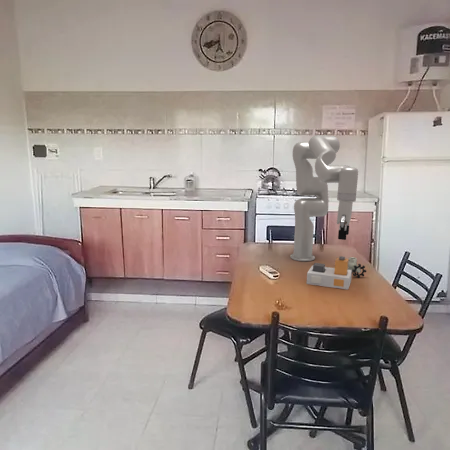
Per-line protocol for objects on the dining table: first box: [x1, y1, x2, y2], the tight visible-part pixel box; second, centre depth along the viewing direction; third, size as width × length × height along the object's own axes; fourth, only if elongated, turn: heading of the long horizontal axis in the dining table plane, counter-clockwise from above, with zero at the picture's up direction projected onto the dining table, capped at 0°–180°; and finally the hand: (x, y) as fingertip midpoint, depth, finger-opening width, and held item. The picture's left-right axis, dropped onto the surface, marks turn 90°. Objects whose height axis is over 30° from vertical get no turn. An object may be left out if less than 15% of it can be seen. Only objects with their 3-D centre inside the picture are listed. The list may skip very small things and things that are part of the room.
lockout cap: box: [334, 255, 349, 275], centre depth 187 cm, size 5×5×7 cm
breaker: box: [313, 262, 326, 273], centre depth 191 cm, size 4×4×4 cm
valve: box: [348, 256, 367, 279], centre depth 202 cm, size 7×7×12 cm
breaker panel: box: [306, 264, 353, 291], centre depth 190 cm, size 12×18×5 cm
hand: (343, 236), depth 185 cm, fingers open, 9 cm apart
